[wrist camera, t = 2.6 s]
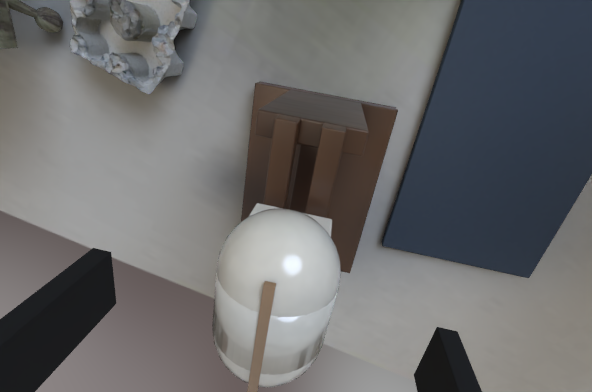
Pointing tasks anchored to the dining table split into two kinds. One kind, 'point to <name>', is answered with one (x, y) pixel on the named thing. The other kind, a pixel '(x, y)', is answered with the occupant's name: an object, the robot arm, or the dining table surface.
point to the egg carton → (131, 37)
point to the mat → (501, 137)
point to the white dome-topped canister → (274, 295)
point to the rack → (317, 158)
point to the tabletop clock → (46, 18)
